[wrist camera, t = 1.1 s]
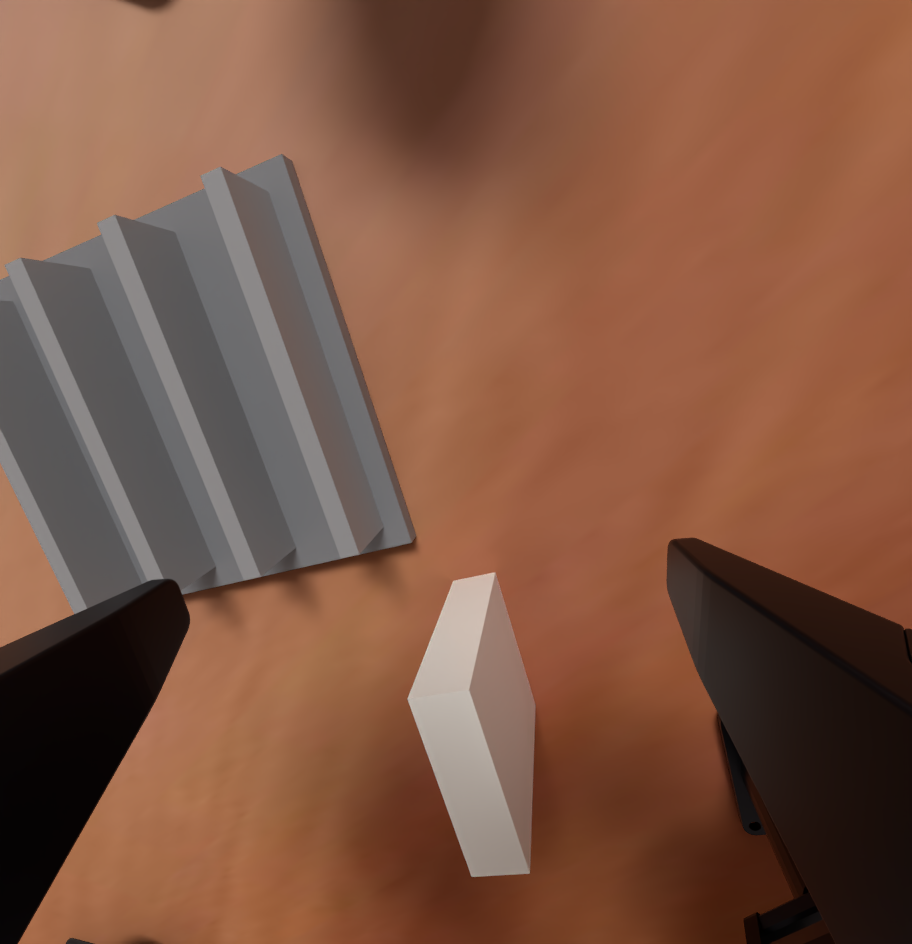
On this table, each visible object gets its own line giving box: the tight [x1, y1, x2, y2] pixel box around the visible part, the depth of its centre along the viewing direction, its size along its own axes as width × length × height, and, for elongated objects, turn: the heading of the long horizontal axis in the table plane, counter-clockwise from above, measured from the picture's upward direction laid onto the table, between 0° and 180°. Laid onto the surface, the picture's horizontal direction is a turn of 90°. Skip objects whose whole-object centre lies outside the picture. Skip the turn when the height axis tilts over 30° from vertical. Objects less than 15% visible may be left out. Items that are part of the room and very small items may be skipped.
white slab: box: [408, 573, 536, 877], centre depth 20 cm, size 7×2×8 cm, turn 17°
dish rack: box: [0, 154, 416, 614], centre depth 21 cm, size 16×16×4 cm
